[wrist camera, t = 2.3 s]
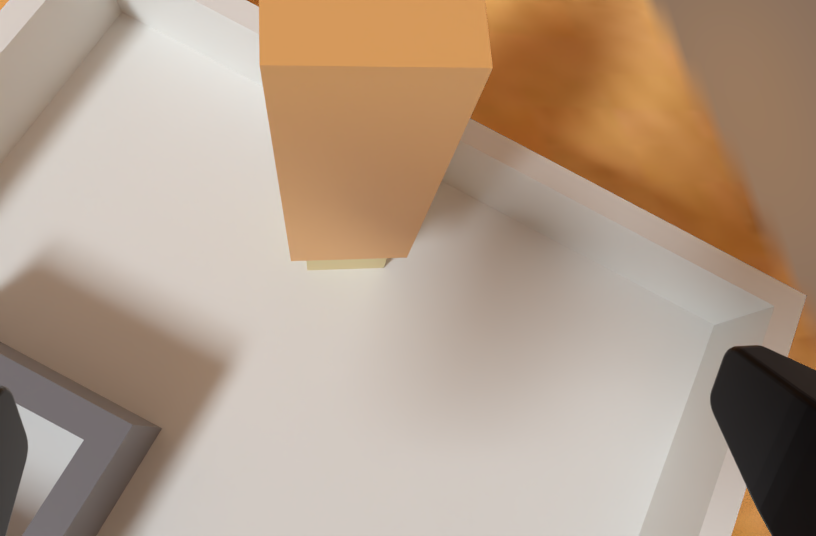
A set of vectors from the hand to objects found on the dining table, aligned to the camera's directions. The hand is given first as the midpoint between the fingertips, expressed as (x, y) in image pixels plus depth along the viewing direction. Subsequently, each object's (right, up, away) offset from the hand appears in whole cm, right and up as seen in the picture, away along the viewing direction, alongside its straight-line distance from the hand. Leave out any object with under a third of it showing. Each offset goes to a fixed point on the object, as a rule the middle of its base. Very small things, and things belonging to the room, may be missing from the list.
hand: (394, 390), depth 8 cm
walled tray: (-4, -3, +12) cm, 13 cm away
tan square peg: (-2, +3, +12) cm, 13 cm away
